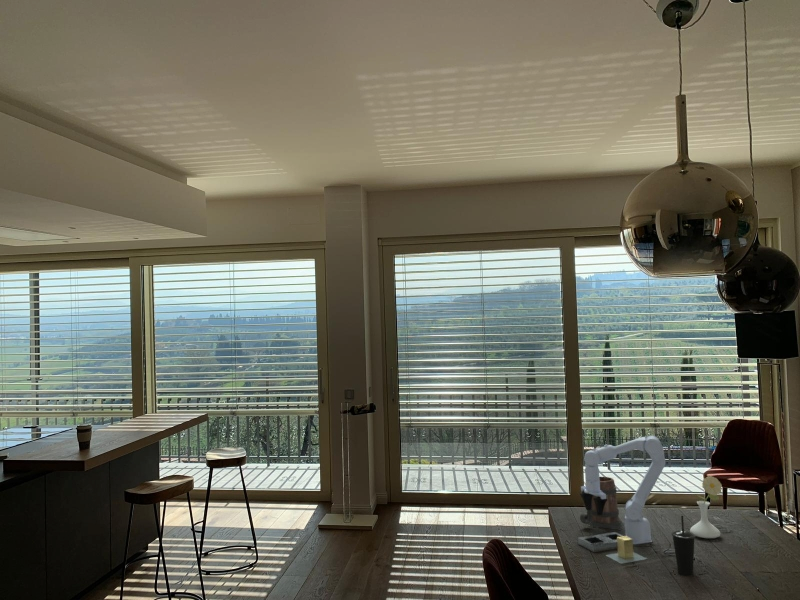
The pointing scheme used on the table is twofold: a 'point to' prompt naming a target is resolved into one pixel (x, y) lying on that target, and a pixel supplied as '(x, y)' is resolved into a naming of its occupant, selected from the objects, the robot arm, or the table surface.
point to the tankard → (610, 509)
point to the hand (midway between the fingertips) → (594, 512)
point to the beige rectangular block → (625, 547)
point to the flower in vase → (704, 526)
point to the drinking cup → (684, 550)
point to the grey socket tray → (599, 541)
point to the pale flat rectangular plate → (621, 560)
